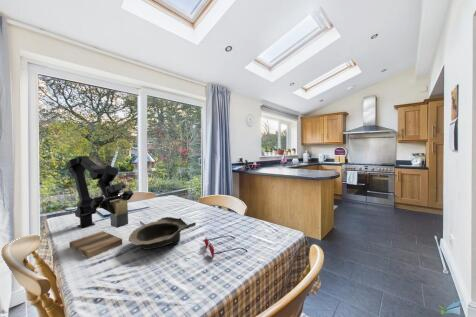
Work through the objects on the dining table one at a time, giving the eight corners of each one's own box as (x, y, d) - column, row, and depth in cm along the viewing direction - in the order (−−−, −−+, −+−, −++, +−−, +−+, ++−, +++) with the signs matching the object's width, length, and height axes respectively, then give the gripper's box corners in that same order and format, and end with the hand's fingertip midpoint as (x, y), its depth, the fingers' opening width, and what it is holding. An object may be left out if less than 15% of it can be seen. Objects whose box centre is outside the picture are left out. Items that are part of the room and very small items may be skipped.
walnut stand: (69, 247, 94) (69, 241, 94) (102, 235, 106) (102, 230, 105) (88, 258, 84) (88, 252, 84) (122, 244, 96) (122, 239, 96)
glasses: (202, 245, 95) (202, 235, 95) (235, 238, 102) (235, 229, 102) (211, 261, 82) (211, 249, 82) (248, 252, 89) (248, 240, 89)
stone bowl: (195, 235, 105) (194, 218, 103) (163, 266, 81) (161, 244, 80) (156, 228, 113) (154, 212, 112) (116, 254, 89) (113, 235, 88)
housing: (110, 225, 101) (109, 201, 100) (121, 222, 106) (120, 199, 105) (117, 227, 99) (116, 203, 98) (128, 224, 103) (127, 200, 102)
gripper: (92, 180, 95) (106, 207, 90) (130, 175, 111) (144, 198, 106) (84, 195, 99) (97, 222, 94) (122, 188, 115) (135, 210, 110)
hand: (120, 212), depth 101 cm, fingers closed on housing, 5 cm apart
